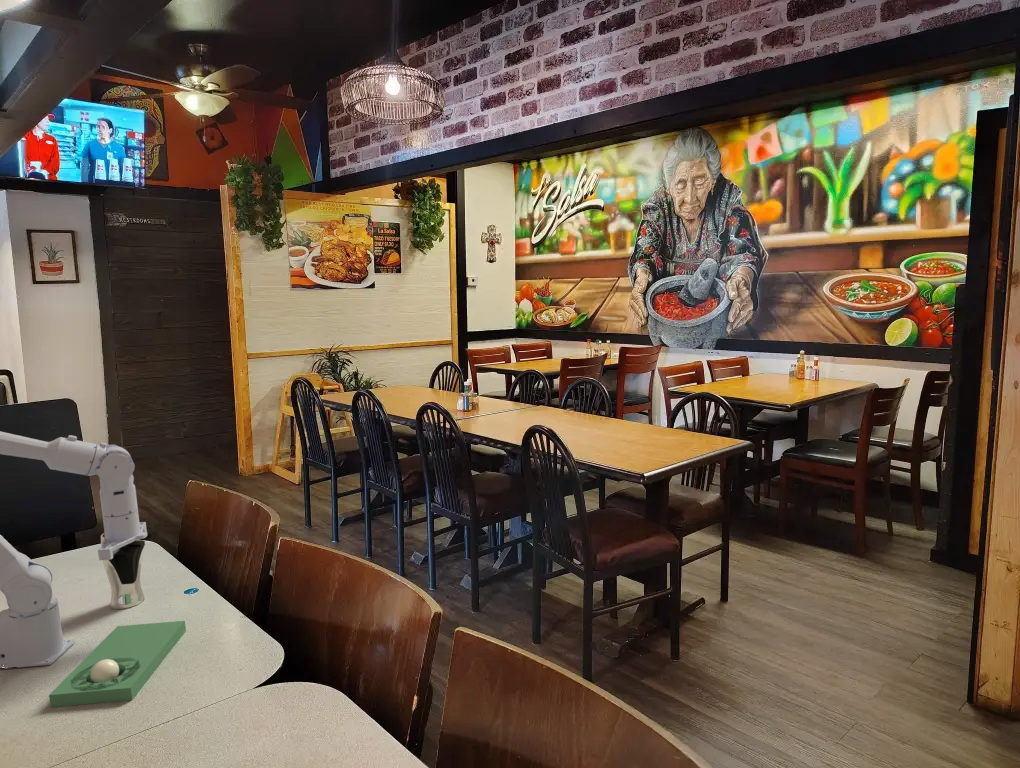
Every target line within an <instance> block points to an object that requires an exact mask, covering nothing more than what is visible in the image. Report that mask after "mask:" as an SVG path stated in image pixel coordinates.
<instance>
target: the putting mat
mask: <svg viewBox="0 0 1020 768" xmlns="http://www.w3.org/2000/svg"><path fill="white" fill-rule="evenodd" d="M186 632H187V627H186V620H178V621H176V620H175V621H167V622H166V621H164V622H153V623H141V624H140V623H139V624H126V625H117V626H116V627H115V628H114V629H112V631H111V632H110V633H109V634H108V635H107V636H106V637H105V638H104V639H103V640H102V641H101V642H100V643H99V644H98V645H97V646H96V647H95V648H94V649H93V651H91V652H90V653H89V654H88V655H87V656H86V657H85V658H84V659H83V661H81V662H80V663H79V664H78V665H77V666H76V667H75V668H74V669H73V671H71V672H70V673H69V675H67V676H65V678H64V679H63V680H62V682H60V683H59V685H57V686H56V687H55V688H54V689H53V691H52V692H50V693H49V695H48V698H49V703H50V704H49V705H50V708H59V707H67V706H79V705H90V704H104V703H112V702H113V703H114V702H123V701H133V700H134V699H135V697H136V696H137V694H138V693H139V692H140V691H141V690H142V688H143V687H144V685H146V683H147V681H148V680H149V679H150V678H151V677H152V675H153V674H154V672H155V671H156V670H157V669H158V668H159V666H160V665H161V664H162V663H163V661H164V660H165V659H166V657H167V656H168V654H169V653H170V652H171V651H172V650H173V648H174V647H175V646H176V644H178V643H179V640H180V639H181V638H182V636H183V635H184V634H185V633H186ZM177 642H178V643H177ZM105 659H111V660H114V661H115V662H116V663H117V664H118V666H119V674H118V677H117V678H115V679H113V680H110V681H107V682H103V683H93V682H92V680H91V670H92V668H93V667H94V665H95V664H96V663H98V662H99V661H101V660H105Z"/></svg>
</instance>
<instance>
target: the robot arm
mask: <svg viewBox="0 0 1020 768" xmlns="http://www.w3.org/2000/svg"><path fill="white" fill-rule="evenodd" d="M0 455H4V456H11V457H18V458H26V459H32V460H38V461H43V462H44V463H45V465H46V466H47V467H48V468H49V470H53V471H59V472H64V473H70V474H71V473H72V474H75V475H82V476H88V477H91V476H97V477H99V484H100V489H99V498H100V507H101V513H102V521H103V529H104V530H103V533H105V538H104V540H103V543H102V546H101V545H100V548H99V549H98V550H97V555H98V560H99V561H103V560H109V561H110V563H111V564H112V565H113V567H114V569H115V570H116V573H117V575H118V577H119V579H120V581H121V583H122V584H133V583H134V582H135V581H136V579H137V572H138V565H139V560H140V556H141V557H142V554H143V550H144V547H145V545H146V541H145V540H144V539H146V538H147V537H148V530H147V522H146V521H141V522H140V515H139V507H138V499H137V490H136V485H135V483H134V480H135V477H134V473H133V472H134V471H135V467H136V466H135V463H134V460H133V459H132V455H131V454H130V453H129V451H128V450H127V449H125V448H124V447H121V446H118V445H116V444H108V443H106V442H102V441H101V442H100V443H99V444H98V443H95V442H94V443H93V442H89V441H88V442H87V441H84V440H78V437H77V436H76V435H70V434H69V435H68V436H67V437H64V436H63V437H62V436H60V437H57V438H55V439H54V440H51V441H45V440H40V439H37V438H31V437H28V436H23V435H17V434H13V433H9V432H5V431H0ZM138 539H139V540H138ZM142 539H143V540H142ZM136 540H137V541H136ZM52 582H53V573H52V571H51V570H50V568H49V567H48V566H47V565H44V564H43V563H39V562H37V561H33V560H32V559H31V558H30V557H28V555H26V554H24V553H22V552H20V551H18V550H17V549H16V548H15V547H13V545H12V544H11V543H9V542H8V540H7V539H5V538H4V536H3V535H1V534H0V592H1V593H2V594H3V595H4V596H5V599H6V604H7V607H8V608H5V609H3V610H1V611H0V668H2V667H5V669H7V668H6V667H9V668H8V669H11V668H10V667H17V668H27V667H29V668H30V667H39V666H50V665H53V663H55V661H56V660H57V659H58V658H60V657H61V656H62V655H63V654H64V653H65V652H66V651H67V650H68V649H69V648H70V647H71V646H73V644H75V643H76V640H75V639H68V640H67V639H64V636H63V630H62V629H63V628H62V622H61V614H60V607H59V600H58V597H57V596H55V595H53V589H52ZM3 665H4V666H3Z"/></svg>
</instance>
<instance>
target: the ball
mask: <svg viewBox="0 0 1020 768" xmlns="http://www.w3.org/2000/svg"><path fill="white" fill-rule="evenodd" d="M118 674H119V666H118V664H117V663H116V662H115V661H114V660H111V659H105V660H101V661H99V662H98V663H96V664H95V665H94V667H93V668H92V670H91V680H92V682H93V684H94V683H103V682H107V681H110V680H113V679H115V678H117V677H118Z"/></svg>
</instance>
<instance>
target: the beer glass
mask: <svg viewBox="0 0 1020 768" xmlns="http://www.w3.org/2000/svg"><path fill="white" fill-rule="evenodd" d="M104 538H105V532H103V533H102V534H101V535H100V547H101V546H102V543H103V540H104ZM138 540H140V539H138ZM136 541H137V540H136ZM102 564H103V567H104V571H105V573H106V576H107V577H106V578H107V579H108V582H109V585H110V590H111V591H110V593H111V596H110V606H111V609H115V610H124V609H129V608H132V607H135V606H138V605H140V604H141V603H143V602H144V600H145V594H144V591H143V588H142V585H141V584H142V583H141V571H142V570H141V569H142V555H141V556H140V560H139V565H138V572H137V579H136V581H135V582H134V583H133V584H122V583H121V581H120V579H119V577H118V575H117V573H116V570H115V569H114V567H113V565H112V564H111V563H110V561H109V560H102Z"/></svg>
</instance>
